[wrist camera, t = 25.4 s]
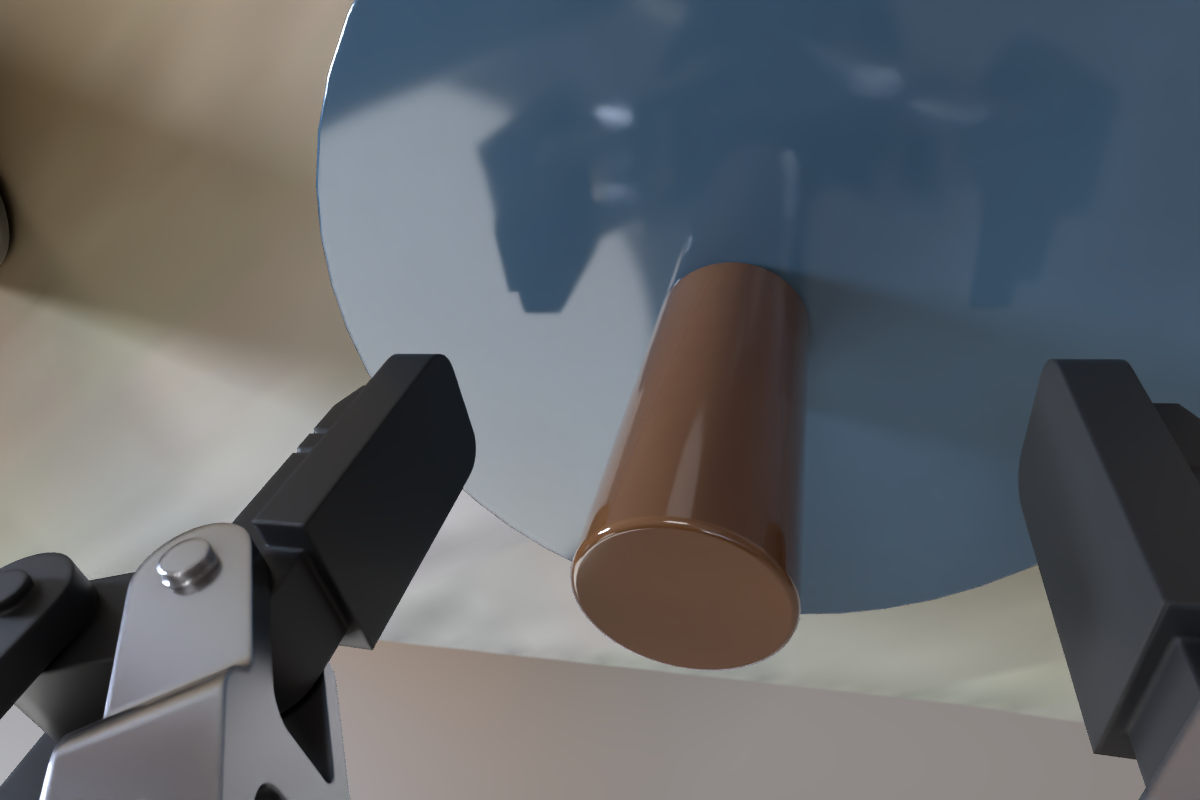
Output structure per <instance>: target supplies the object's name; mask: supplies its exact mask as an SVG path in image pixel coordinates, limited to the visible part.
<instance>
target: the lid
mask: <svg viewBox="0 0 1200 800" xmlns="http://www.w3.org/2000/svg"><path fill="white" fill-rule="evenodd" d="M316 189H317V200H318V211H319V222H320V233H321V239H322V244H323V249H324V253H325V258H326V262H327V267H328V271H329V276H330V281H331V285H332V288H333V291H334V294H335V296H336V299H337V302H338V305H339V308H340V311H341V314H342V317H343V319H344V322H345V325H346V328H347V331H348V333H349V335H350V337H351V339H352V341H353V343H354V345H355V347H356V349H357V351H358V354H359V356H360V358H361V360H362V362H363V364H364V366H365V368H366V370H367V372H368V374H369V375H370V377H371V378H372V377H373V376H374V375H375V374H376V372H377V371H378V370H379V369H380V368H381V367H382V365H383V364H384V363H385V362H386V361H387V359H388V358H389V357H390V356H392V355H394V354H442V355H445V356H446V357H447V358H448V359H449V360H450V362H451V364H452V366H453V369H454V372H455V375H456V378H457V381H458V384H459V388H460V391H461V394H462V397H463V400H464V403H465V406H466V409H467V412H468V415H469V418H470V422H471V425H472V428H473V431H474V434H475V440H476V457H475V463H474V467H473V470H472V472H471V474H470V476H469V478H468V480H467V482H466V483H465V485H464V487H463V490H464V491H465V492H466V493H468V494H469V495H470V496H471V497H472V498H473V499H474V500H475V501H477V502H478V503H479V504H480V505H482V506H483V507H485V508H486V509H487V510H489V511H490V512H491V513H493V514H494V515H495V516H497V517H498V518H499V519H501V520H502V521H503V522H505V523H506V524H508V525H509V526H510V527H512V528H513V529H515V530H517V531H518V532H520V533H522V534H523V535H525V536H526V537H528V538H530V539H531V540H533V541H535V542H536V543H538V544H539V545H541V546H543V547H544V548H546V549H548V550H550V551H552V552H554V553H556V554H558V555H560V556H562V557H564V558H566V559H568V560H570V561H572V564H571V572H570V578H571V584H572V590H573V593H574V596H575V599H576V601H577V603H578V605H579V607H580V609H581V610H582V612H583V613H584V614H585V616H586V617H587V618H588V620H589V621H590V622H591V623H592V624H593V625H594V626H595V627H596V628H597V629H598V630H599V631H601V632H602V633H603V634H604V635H605V636H607V637H608V638H610V639H611V640H612V641H614V642H615V643H617V644H619V645H620V646H622V647H624V648H625V649H627V650H629V651H631V652H633V653H635V654H637V655H640V656H642V657H645V658H647V659H650V660H653V661H656V662H659V663H662V664H666V665H670V666H675V667H680V668H686V669H694V670H730V669H736V668H742V667H746V666H749V665H753V664H756V663H758V662H761V661H763V660H765V659H767V658H769V657H771V656H773V655H774V654H775V653H777V652H778V651H779V650H781V649H782V648H783V647H784V646H785V645H786V644H787V643H788V641H789V640H790V638H791V637H792V635H793V633H794V632H795V630H796V628H797V626H798V623H799V620H800V614H840V613H850V612H860V611H870V610H879V609H887V608H893V607H898V606H903V605H909V604H914V603H919V602H925V601H930V600H935V599H938V598H942V597H945V596H949V595H953V594H956V593H960V592H963V591H967V590H970V589H974V588H977V587H981V586H984V585H986V584H989V583H992V582H994V581H997V580H999V579H1002V578H1005V577H1007V576H1010V575H1013V574H1015V573H1018V572H1020V571H1023V570H1026V569H1028V568H1031V567H1033V566H1035V565H1037V564H1038V563H1037V559H1036V556H1035V553H1034V549H1033V546H1032V542H1031V539H1030V536H1029V532H1028V529H1027V525H1026V522H1025V519H1024V515H1023V512H1022V508H1021V504H1020V499H1019V488H1018V471H1019V462H1020V456H1021V452H1022V448H1023V444H1024V440H1025V436H1026V432H1027V428H1028V423H1029V419H1030V415H1031V411H1032V407H1033V403H1034V399H1035V395H1036V391H1037V387H1038V383H1039V379H1040V375H1041V372H1042V369H1043V367H1044V365H1045V363H1046V362H1047V361H1048V360H1050V359H1123V360H1126V361H1127V362H1128V363H1129V364H1130V365H1131V367H1132V368H1133V370H1134V372H1135V374H1136V375H1137V377H1138V379H1139V381H1140V382H1141V384H1142V386H1143V387H1144V389H1145V391H1146V393H1147V394H1148V396H1149V398H1150V399H1151V401H1152V403H1176V404H1180V405H1181V406H1183V407H1184V408H1186V409H1187V410H1188V411H1190V412H1191V413H1193V414H1194V415H1195V416H1197V417H1198V418H1200V0H354V2H353V4H352V6H351V8H350V10H349V12H348V14H347V17H346V20H345V23H344V27H343V30H342V33H341V36H340V39H339V42H338V45H337V48H336V51H335V54H334V57H333V60H332V63H331V66H330V69H329V73H328V78H327V83H326V89H325V95H324V100H323V106H322V112H321V117H320V123H319V129H318V148H317V174H316Z"/></svg>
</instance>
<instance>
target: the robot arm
mask: <svg viewBox="0 0 1200 800" xmlns="http://www.w3.org/2000/svg"><path fill="white" fill-rule="evenodd" d="M8 246H9V225H8V219H7V215H6V211H5V207H4V204H3V201H2V198H1V195H0V265H1V263H2V262H3V261H4V259H5V256H6V254H7V251H8ZM297 449H298V451H297V453H292V455H291V456H290V457H289V458H288V459H287V460H286V462H285V463H284V464H283V465H282V466H281V467H280V468H279V470H278V471H277V472H276V473H275V474H274V475H273V477H272V478H271V479H270V480H269V481H268V482H267V483H266V485H265V486H264V487H263V488H262V489H261V490H260V492H259V493H258V494H257V495H256V496H255V497H254V498H253V500H252V501H251V502H250V503H249V504H248V505H247V507H246V508H245V509H244V510H243V511H242V512H241V513H240V515H239V516H238V517H237V518H236V519H235V520H234V522H233V523H214V524H209V525H204V526H201V527H197V528H194V529H192V530H189V531H187V532H185V533H183V534H181V535H179V536H177V537H175V538H173V539H171V540H170V541H168V542H167V543H165V544H164V545H162V546H161V547H160V548H158V549H157V550H156V551H154V552H153V553H152V554H151V555H150V556H149V557H148V558H147V559H146V560H145V561H144V562H143V563H142V564H141V565H140V566H139V568H138V569H137V570H136V572H133V573H128V574H122V575H117V576H112V577H106V578H101V579H95V580H90V581H89V580H88V579H87V578H86V577H85V576H84V574H83V573H82V572H81V571H80V570H79V568H78V567H77V566H76V565H75V564H74V563H73V561H72V560H71V559H70V558H69V557H68V556H66V555H64V554H61V553H42V554H36V555H33V556H29V557H26V558H23V559H20V560H17V561H15V562H13V563H11V564H8V565H6V566H4V567H2V568H1V569H0V719H1V718H2V717H3V716H4V715H5V713H6V712H7V711H8V710H9V709H10V708H11V707H12V706H13V704H14V705H15V706H17V707H18V708H19V709H20V710H21V711H22V712H23V713H24V714H25V715H27V716H28V717H29V718H30V719H31V720H32V721H33V722H34V723H35V724H37V725H38V726H39V727H40V728H41V729H42V730H43V731H44V732H45V733H44V734H43V736H42V737H41V738H40V739H39V740H38V742H37V743H36V744H35V745H34V746H33V748H32V749H31V750H30V751H29V752H28V754H27V755H26V756H25V757H24V758H23V760H22V761H21V762H20V763H19V765H18V766H17V767H16V768H15V769H14V771H13V772H12V773H11V774H10V776H9V777H8V778H7V779H6V780H5V782H4V783H3V784H2V785H1V786H0V800H351V799H350V794H349V786H348V778H347V770H346V761H345V753H344V744H343V736H342V728H341V719H340V711H339V702H338V694H337V685H336V678H335V673H334V671H333V669H332V667H331V665H330V664H329V660H330V659H331V657H332V655H333V654H334V652H335V650H336V649H337V647H338V645H339V646H347V647H354V648H361V649H368V650H373V648H374V646H375V644H376V643H377V641H378V639H379V637H380V636H381V634H382V632H383V630H384V629H385V627H386V625H387V623H388V621H389V620H390V618H391V616H392V614H393V612H394V611H395V609H396V607H397V605H398V603H399V602H400V600H401V598H402V596H403V594H404V593H405V591H406V589H407V587H408V586H409V584H410V582H411V580H412V578H413V577H414V575H415V573H416V571H417V569H418V568H419V566H420V564H421V562H422V560H423V559H424V557H425V555H426V553H427V551H428V550H429V548H430V546H431V544H432V543H433V541H434V539H435V537H436V535H437V534H438V532H439V530H440V528H441V526H442V525H443V523H444V521H445V519H446V517H447V516H448V514H449V512H450V510H451V508H452V507H453V505H454V503H455V501H456V500H457V498H458V496H459V494H460V492H461V491H462V489H463V487H464V485H465V483H466V482H467V480H468V478H469V476H470V474H471V472H472V470H473V467H474V463H475V457H476V440H475V434H474V431H473V428H472V425H471V422H470V418H469V415H468V412H467V409H466V406H465V403H464V400H463V397H462V394H461V391H460V388H459V384H458V381H457V378H456V375H455V372H454V369H453V366H452V364H451V362H450V360H449V359H448V358H447V357H446V356H445V355H442V354H394V355H392V356H390V357H389V358H388V359H387V361H386V362H385V363H384V364H383V365H382V367H381V368H380V369H379V370H378V371H377V372H376V374H375V375H374V376H373V377H372V378H371V380H370V381H369V382H368V383H367V384H366V386H364V385H363V386H362V387H360V388H359V389H358V390H356V391H355V392H353V393H352V394H350V395H349V396H347V397H346V398H344V399H343V400H341V401H340V402H339V403H337V404H336V405H334V406H333V407H332V409H331V410H330V411H329V412H328V413H327V414H326V415H325V417H324V418H323V419H322V420H321V421H320V422H319V424H318V425H317V426H316V427H315V428H314V434H309V435H308V436H307V437H306V439H305V440H304V441H303V442H302V443H301V444H300V445H299V447H298V448H297ZM1018 488H1019V499H1020V504H1021V508H1022V512H1023V515H1024V519H1025V522H1026V525H1027V529H1028V532H1029V536H1030V539H1031V542H1032V546H1033V549H1034V553H1035V556H1036V559H1037V563H1038V566H1039V570H1040V573H1041V576H1042V580H1043V583H1044V587H1045V590H1046V593H1047V597H1048V600H1049V604H1050V607H1051V610H1052V614H1053V617H1054V621H1055V624H1056V627H1057V631H1058V634H1059V637H1060V641H1061V644H1062V648H1063V651H1064V654H1065V658H1066V661H1067V665H1068V668H1069V671H1070V675H1071V678H1072V682H1073V685H1074V688H1075V692H1076V695H1077V699H1078V702H1079V705H1080V709H1081V712H1082V716H1083V719H1084V722H1085V726H1086V729H1087V733H1088V735H1089V739H1090V743H1091V746H1092V750H1093V753H1094V754H1101V755H1109V756H1116V757H1122V758H1130V759H1136V760H1137V762H1138V765H1139V768H1140V771H1141V774H1142V776H1143V780H1144V783H1145V786H1146V789H1145V790H1144V792H1143V794H1142V795H1141V797H1140V799H1139V800H1200V418H1198V417H1197V416H1195V415H1194V414H1193V413H1191V412H1190V411H1188V410H1187V409H1186V408H1184V407H1183V406H1181V405H1180V404H1176V403H1152V401H1151V399H1150V398H1149V396H1148V394H1147V393H1146V391H1145V389H1144V387H1143V386H1142V384H1141V382H1140V381H1139V379H1138V377H1137V375H1136V374H1135V372H1134V370H1133V368H1132V367H1131V365H1130V364H1129V363H1128V362H1127V361H1126V360H1123V359H1050V360H1048V361H1047V362H1046V363H1045V365H1044V367H1043V369H1042V372H1041V375H1040V379H1039V383H1038V387H1037V391H1036V395H1035V399H1034V403H1033V407H1032V411H1031V415H1030V419H1029V423H1028V428H1027V432H1026V436H1025V440H1024V444H1023V448H1022V452H1021V456H1020V462H1019V471H1018Z"/></svg>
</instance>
